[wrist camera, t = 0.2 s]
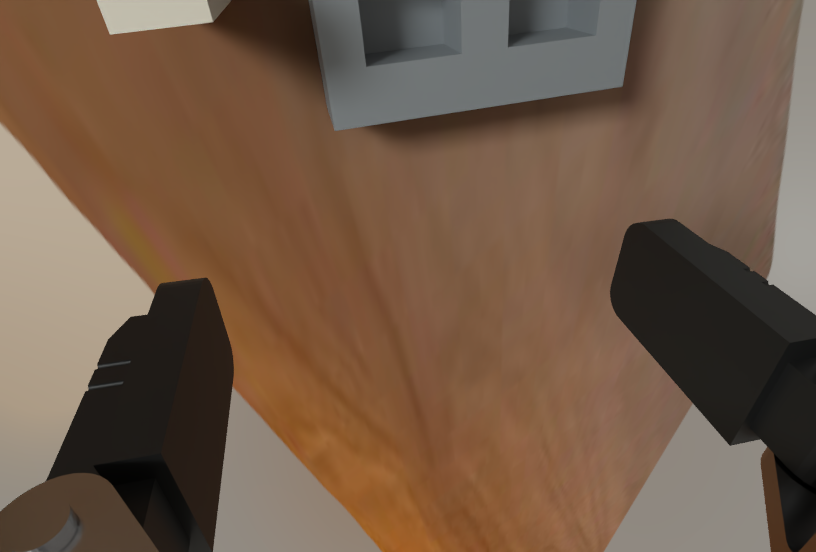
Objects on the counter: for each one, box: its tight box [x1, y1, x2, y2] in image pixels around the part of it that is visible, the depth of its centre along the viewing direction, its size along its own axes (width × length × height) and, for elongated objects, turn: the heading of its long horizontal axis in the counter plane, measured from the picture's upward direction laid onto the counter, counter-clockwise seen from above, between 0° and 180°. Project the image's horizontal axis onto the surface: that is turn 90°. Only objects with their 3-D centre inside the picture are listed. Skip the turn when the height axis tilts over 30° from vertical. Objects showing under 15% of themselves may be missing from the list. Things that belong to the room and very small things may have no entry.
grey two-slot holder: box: [308, 0, 636, 131], centre depth 31 cm, size 12×20×6 cm, turn 95°
